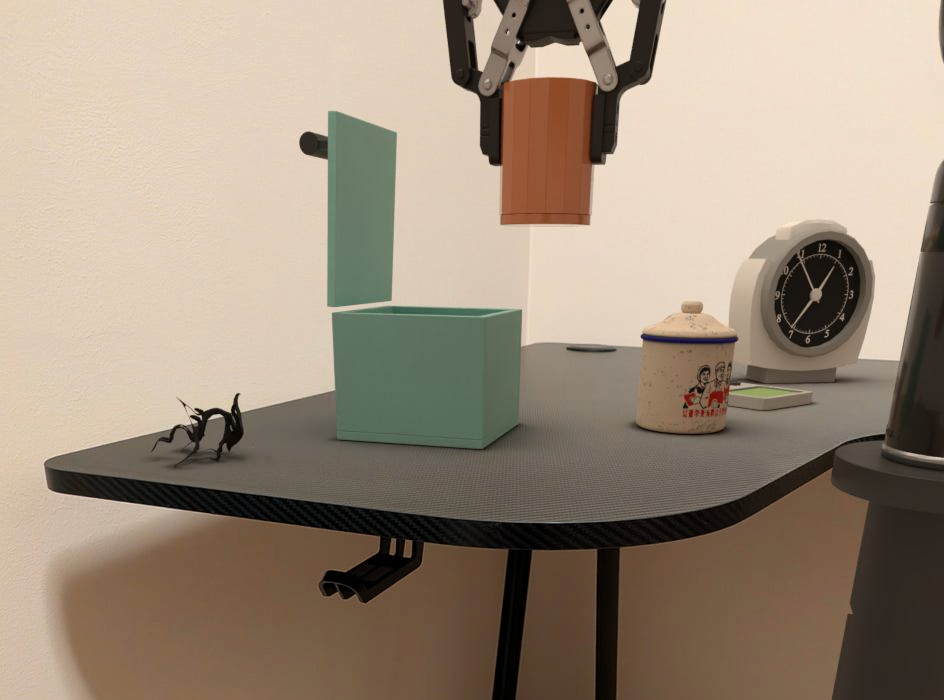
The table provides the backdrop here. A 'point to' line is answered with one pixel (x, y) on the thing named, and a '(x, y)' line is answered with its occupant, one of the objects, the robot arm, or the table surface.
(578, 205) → the cup
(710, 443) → the table surface
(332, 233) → the lid
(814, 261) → the alarm clock
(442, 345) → the box
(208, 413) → the creature
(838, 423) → the table surface
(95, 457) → the table surface
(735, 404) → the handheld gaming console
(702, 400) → the teacup with lid
